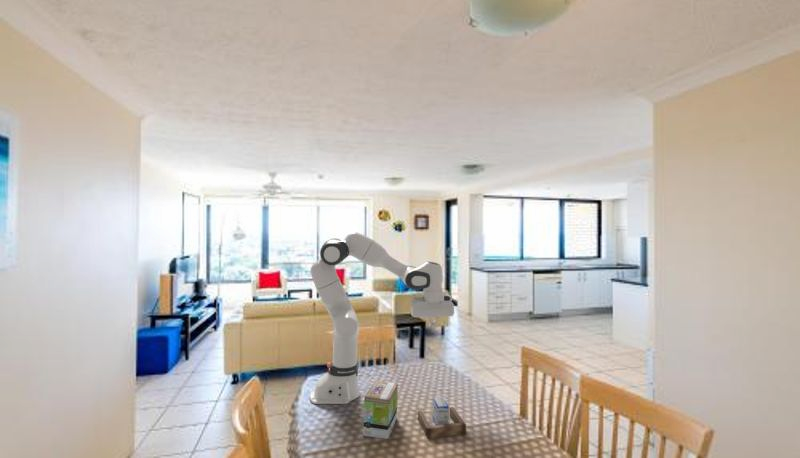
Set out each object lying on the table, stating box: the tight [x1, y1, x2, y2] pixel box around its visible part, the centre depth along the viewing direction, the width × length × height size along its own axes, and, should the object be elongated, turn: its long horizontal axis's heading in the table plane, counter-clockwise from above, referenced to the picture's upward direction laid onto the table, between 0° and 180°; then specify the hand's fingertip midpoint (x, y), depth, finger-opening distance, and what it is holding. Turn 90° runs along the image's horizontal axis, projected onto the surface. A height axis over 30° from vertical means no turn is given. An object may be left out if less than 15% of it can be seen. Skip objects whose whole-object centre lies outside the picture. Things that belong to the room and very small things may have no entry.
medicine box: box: [432, 396, 450, 425], centre depth 144 cm, size 8×4×9 cm, turn 10°
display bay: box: [417, 406, 467, 439], centre depth 142 cm, size 15×14×4 cm
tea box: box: [362, 380, 399, 440], centre depth 141 cm, size 15×10×15 cm
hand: (432, 326), depth 171 cm, fingers closed
